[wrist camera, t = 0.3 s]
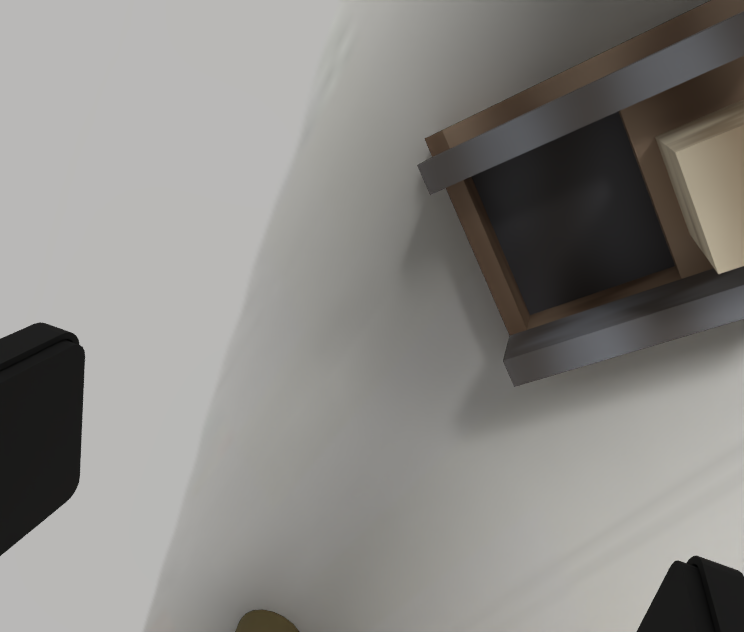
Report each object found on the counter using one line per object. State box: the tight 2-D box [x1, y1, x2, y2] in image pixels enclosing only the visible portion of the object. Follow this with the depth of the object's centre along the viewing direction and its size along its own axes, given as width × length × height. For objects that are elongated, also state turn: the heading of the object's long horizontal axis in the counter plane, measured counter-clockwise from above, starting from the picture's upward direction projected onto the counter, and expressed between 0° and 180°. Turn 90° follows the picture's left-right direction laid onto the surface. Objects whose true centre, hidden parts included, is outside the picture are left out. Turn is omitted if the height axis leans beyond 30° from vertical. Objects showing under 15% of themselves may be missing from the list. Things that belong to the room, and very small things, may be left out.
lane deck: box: [417, 0, 744, 387], centre depth 30 cm, size 23×14×6 cm, turn 116°
